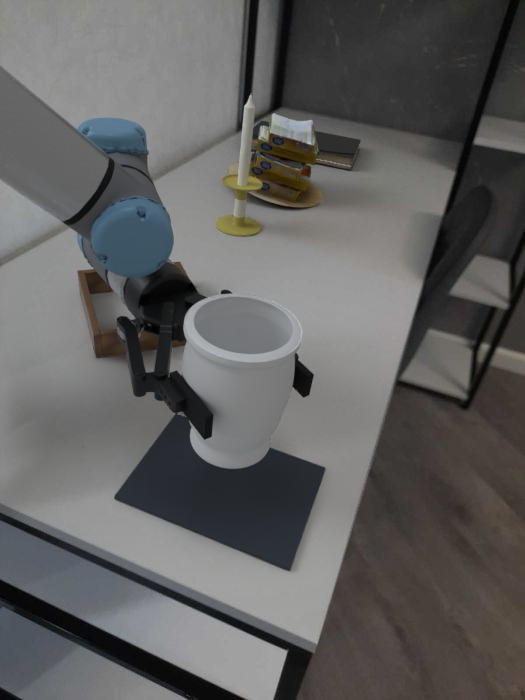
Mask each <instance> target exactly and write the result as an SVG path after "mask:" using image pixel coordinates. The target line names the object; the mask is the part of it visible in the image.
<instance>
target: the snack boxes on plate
mask: <svg viewBox="0 0 525 700" xmlns="http://www.w3.org/2000/svg"><path fill="white" fill-rule="evenodd" d="M267 122H268V123H269V122H270V125H269V127H267V126H263V125H261V126H260V129H259V134H258V140H257V142H256V143H257V146H255V147H254V148H255V151H252V152H251V155H250V165H249V175H248V176H252V177H254V178H257V179H259V180H260V181H261V182H262V183H263V187H262V188H261V189H260V190H257V191H250V192H248V193H247V194H250V195H251V196H254V197H256V198H259V199H261V200H264V201H266V202H268V203H273V204H276V205H280V206H284V207H291V208H311V207H314V206H317V205H319V204H321V202H322V201H323V199H324V193H323V192H322V190H321V188H320V187H319V186H317V184H316V183H315V182H313V181H312V180H311V176H312V166H315V165H316V163H315V162H316V159H317V157H318V155H319V150H318V146H317V141H316V139H315V131H316V130H315V129H316V128H315V125H314V120H313V119H309V120H298V119H295V118H291V117H287V116H283V115H279V114H277V113H275V112H274V113H272V114H271V115H270V118H269V119H268V121H267ZM238 170H239V161H236V162H233V163H231V164H230V166H229V167H228V168H227V174H228V175H236V174H238Z"/></svg>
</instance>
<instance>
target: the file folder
mask: <svg viewBox="0 0 525 700" xmlns="http://www.w3.org/2000/svg"><path fill="white" fill-rule="evenodd" d="M261 125H263V126H267V127H269V125H270V122H269V123H268V121H267V120H260V121H259V122H258V123H257V124H255V126H253V135H252V145H251V152H253V151H254V152H255V148H254V147H255V146H257V143H256V142H257V140H258V134H259V129H260V126H261ZM315 139H316V141H317V146H318V150H319V155H318V157H317V159H321V160H327V161H332V162H336V163H340V164H345V165H350V166H352V167H348V166H343V165H338V164H334V163H330V162H325V161H320V160H316V162H315V164H318V165H322V166H327V167H332V168H337V169H341V170H345V171H346V170H347V171H351V170H352V168H353V165H354V163H355V160H356V157H357V155H358V153H359V149H360V146H359V144H360V145H361V141H362V140H361V139H359V138H355V137H349V136H343V135H339V134H334V133H328V132H323V131H318V130H315ZM358 147H359V148H358ZM357 150H358V151H357ZM356 153H357V154H356ZM355 155H356V156H355ZM354 158H355V159H354Z"/></svg>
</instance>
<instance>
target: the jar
mask: <svg viewBox="0 0 525 700" xmlns="http://www.w3.org/2000/svg"><path fill="white" fill-rule="evenodd" d="M207 297H208V298H205V299H203V300H201V301H199V302H197V303H196V304H194V305H193V306H192V307H191V308H190V309H189V310H188V312H187V313H186V315H185V319H184V325H183V330H184V335H185V338H186V340H187V342H186V344H185V345H184V351H183V355H182V361H181V376H182V377H183V378H184V380H185V381H186V382H187V383H188V384H189V386H190V387H191V388H192V389H193V391H194V392H195V393H196V394H197V395H198V397H199V398H200V399H201V400H202V402H203V403H204V404H205V405H206V406H207V408H208V409H209V410H210V411H211V412H212V414H213V427H212V437H210V438H208V439H205V440H204V439H203V438H202V436H201V435H200V434H199V432H198V431H197V430H196V429H195V427H194V426H193V425H192V423H191V422H190V421H189V422H190V425H191V431H190V441H191V444H192V447H193V449H194V450H195V452H196V453H197V454H198V455H199V456H200V457H201V458H202V459H204V460H205V461H207V462H208V463H210V464H213V465H215V466H218V467H222V468H229V469H238V468H244V467H248V466H251V465H253V464H255V463H257V462H259V461H260V460H261V459H262V458H263V457H264V456H265V455H266V454H267V452H268V450H269V448H271V444H272V439H271V437H272V436H273V434H274V433H275V431H276V429H277V428H278V426H279V424H280V422H281V419H282V416H283V413H284V412H285V410H286V407H287V405H288V403H289V400H290V397H291V394H292V390H293V387H292V386H293V380H294V371H295V353H297V352H298V350H299V349H300V347H301V343H302V340H303V334H304V331H303V327H302V324H301V322H300V320H299V319H298V317H297V316H296V315H295V314H294V313H293V312H292V311H291V310H289V309H288V308H287V307H285V306H283V305H281V304H280V303H279V302H276V301H273V300H272V299H269V298H265V297H262V296H258V295H253V294H248V293H233V294H221V293H220V294H216V295H211V296H207Z"/></svg>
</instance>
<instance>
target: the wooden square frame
mask: <svg viewBox="0 0 525 700" xmlns="http://www.w3.org/2000/svg"><path fill="white" fill-rule="evenodd" d="M172 262H173V263H174V264H175V266H177V267H178V268H179V269H180V270H181V271H182V272H183V273H184V274H185V275H186V276H187V277H188V278H189V279H190V277H189V275H188V273H187V271H186V270H185V268H184V266H183V265H182V262H181V261H172ZM76 273H77V280H78V289H79V290H78V291H79V295H80V299H81V302H82V303H81V304H82V307H83V312H84V316H85V319H86V322H87V328H88V331H89V335H90V340H91V344H92V348H93V352H94V356H95V358H102V357H103V358H104V357H111V356H116V355H122V354H126V348H125V347H124V346H123V345H122V344H121V342H120V341H119V340H118V335H117V327H115V328H108V329H107V328H106V329H101V328H100V325H99V322H98V318H97V315H96V311H95V307H94V303H93V300H92V296H91V294H99V293H108V292H114V291H113V290H112V289H111V288H110V287H109V285H108V284H107V283H106V282H105V281H104V280H103V278H102V277H101V276H100V275H99V274H98V273H97V272H96V270H95V269H94V268H91V269H79V270H76ZM158 341H159V336H156V335H153V334H149V333H146V332H144V331H143V330H142V331H141V336H140V337H139V342H140V347H141V351H142V352H143V351H144V352H145V351H149V350H157V347H158ZM186 342H187V340H184V341H181V342H178V340H177V341H173V347H177V346H185V345H186Z"/></svg>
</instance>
